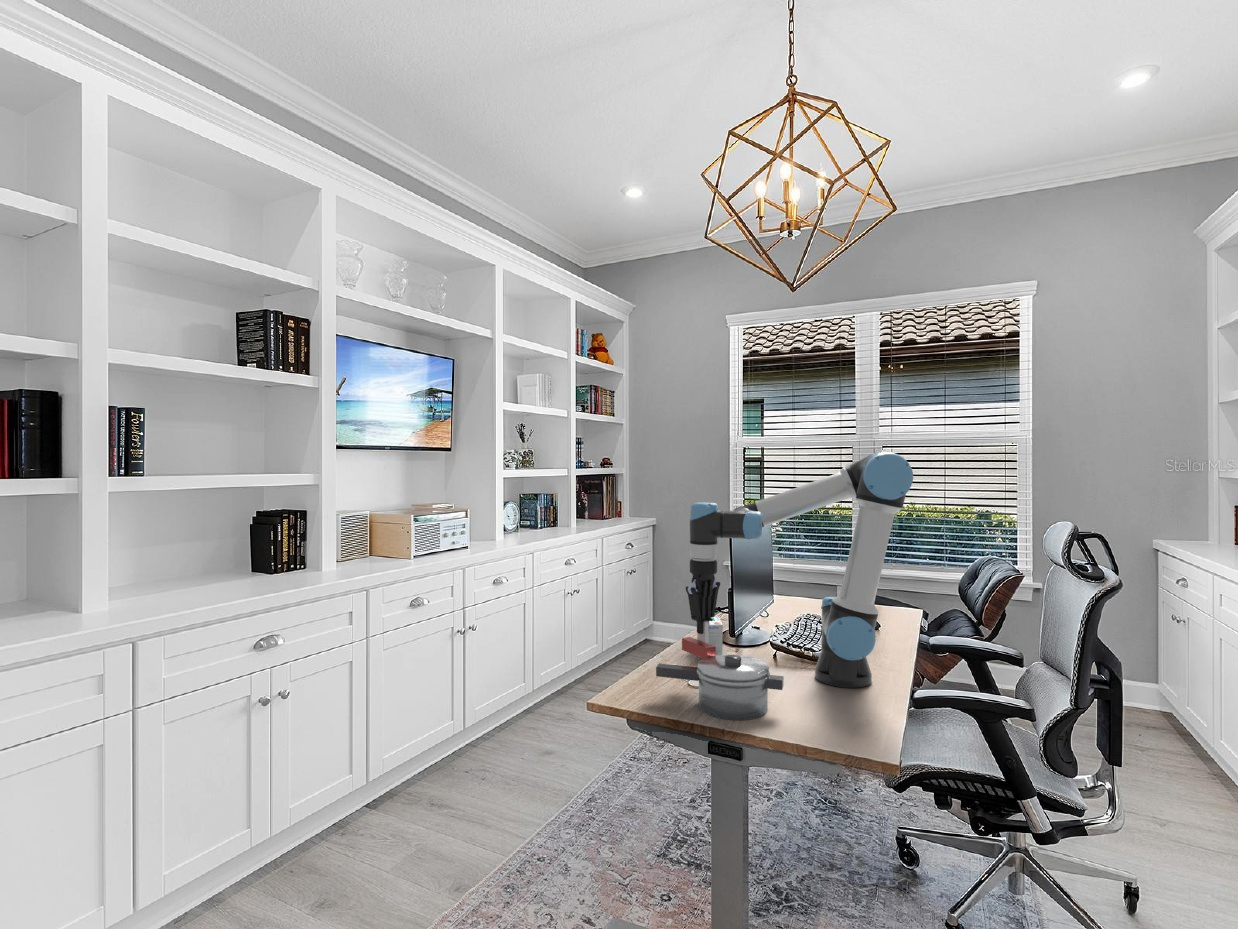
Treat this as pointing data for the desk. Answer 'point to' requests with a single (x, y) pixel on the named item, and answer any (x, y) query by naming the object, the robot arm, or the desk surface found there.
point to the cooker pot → (726, 692)
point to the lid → (724, 663)
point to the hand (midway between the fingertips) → (702, 644)
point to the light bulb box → (716, 634)
